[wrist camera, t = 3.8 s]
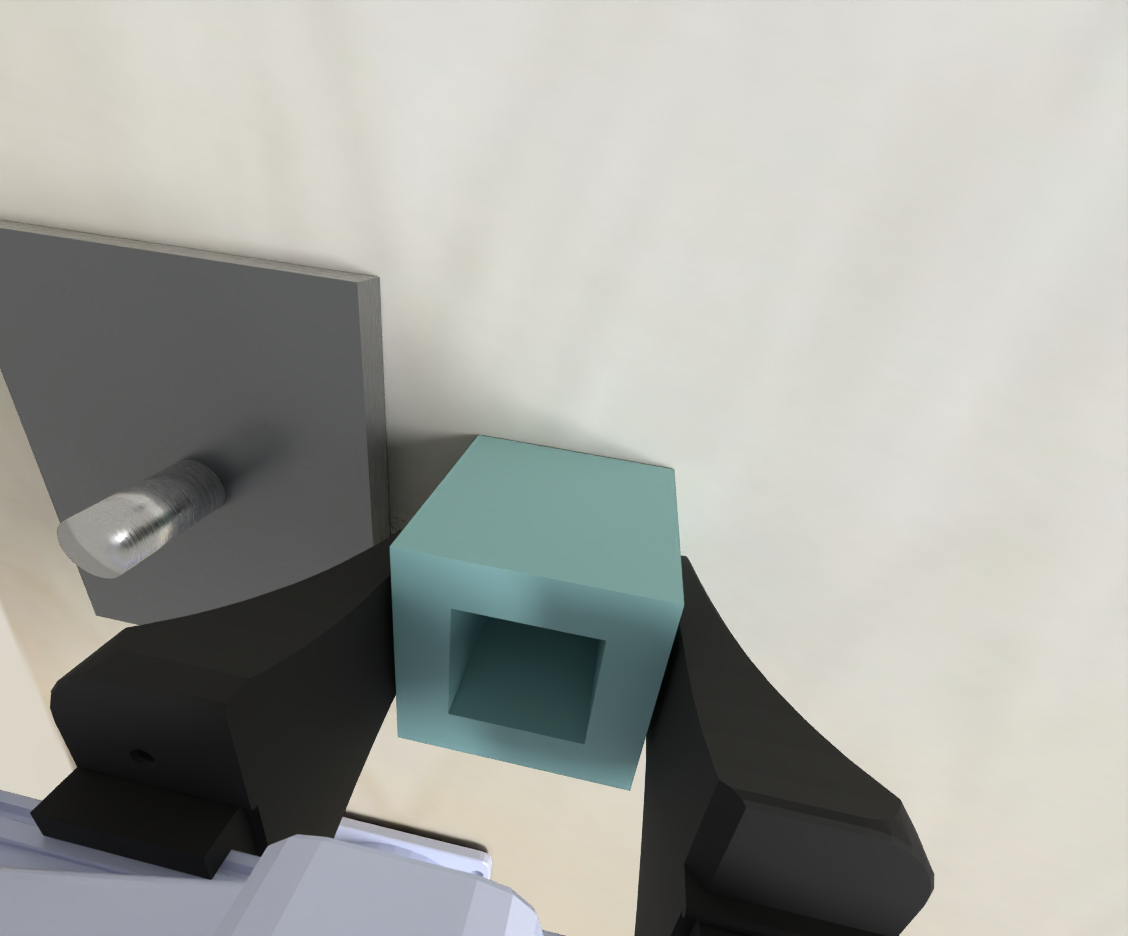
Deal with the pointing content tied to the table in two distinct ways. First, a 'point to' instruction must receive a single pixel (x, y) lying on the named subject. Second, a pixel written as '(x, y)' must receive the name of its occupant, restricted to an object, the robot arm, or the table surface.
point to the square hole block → (538, 608)
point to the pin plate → (194, 415)
